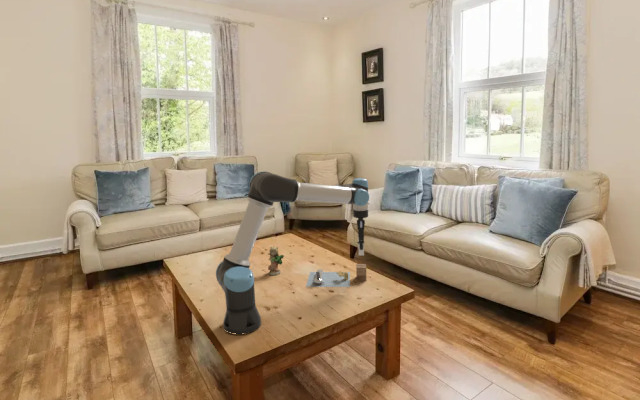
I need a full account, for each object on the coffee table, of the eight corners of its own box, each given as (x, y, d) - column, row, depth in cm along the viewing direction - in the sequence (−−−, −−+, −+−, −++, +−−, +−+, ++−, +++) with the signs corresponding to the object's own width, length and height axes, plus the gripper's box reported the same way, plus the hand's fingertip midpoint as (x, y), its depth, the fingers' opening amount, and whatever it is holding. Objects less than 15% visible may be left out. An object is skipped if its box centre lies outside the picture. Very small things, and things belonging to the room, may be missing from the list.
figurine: (265, 274, 205) (263, 248, 202) (273, 269, 211) (271, 244, 208) (279, 277, 200) (277, 250, 198) (286, 272, 207) (285, 246, 204)
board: (349, 288, 184) (349, 275, 182) (305, 288, 186) (305, 274, 184) (349, 273, 202) (349, 261, 201) (310, 273, 204) (309, 261, 203)
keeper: (349, 282, 191) (349, 273, 190) (339, 283, 190) (339, 275, 189) (346, 278, 196) (345, 270, 195) (336, 280, 194) (336, 271, 193)
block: (366, 282, 190) (366, 267, 189) (356, 282, 191) (356, 267, 189) (366, 278, 195) (365, 264, 194) (356, 278, 196) (356, 264, 194)
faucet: (322, 284, 186) (322, 280, 186) (313, 284, 187) (313, 280, 186) (324, 272, 201) (324, 269, 201) (316, 272, 202) (316, 269, 201)
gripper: (369, 214, 175) (369, 259, 179) (367, 204, 196) (367, 245, 200) (353, 214, 175) (353, 259, 180) (353, 204, 196) (353, 245, 201)
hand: (361, 252), depth 190 cm, fingers open, 9 cm apart
